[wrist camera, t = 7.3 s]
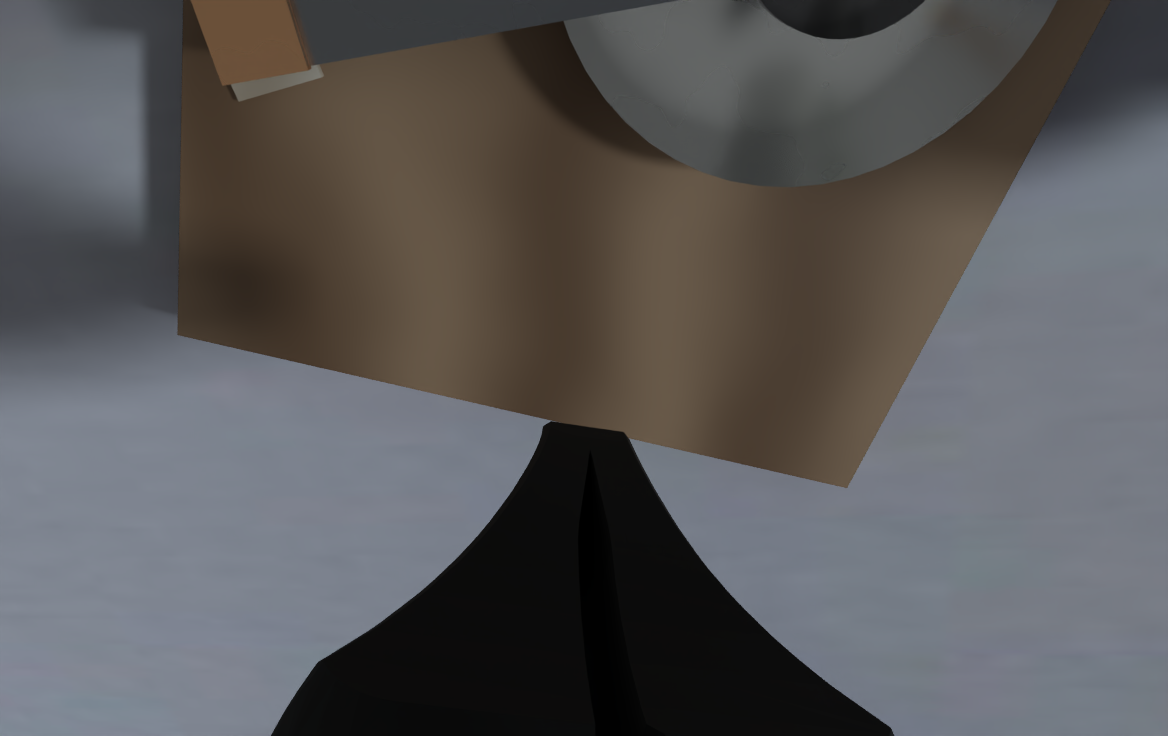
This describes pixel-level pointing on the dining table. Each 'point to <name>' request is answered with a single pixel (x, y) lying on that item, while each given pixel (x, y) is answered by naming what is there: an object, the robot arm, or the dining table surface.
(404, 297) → the dial board
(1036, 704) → the dining table surface
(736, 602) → the robot arm
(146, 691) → the dining table surface
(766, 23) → the dial
